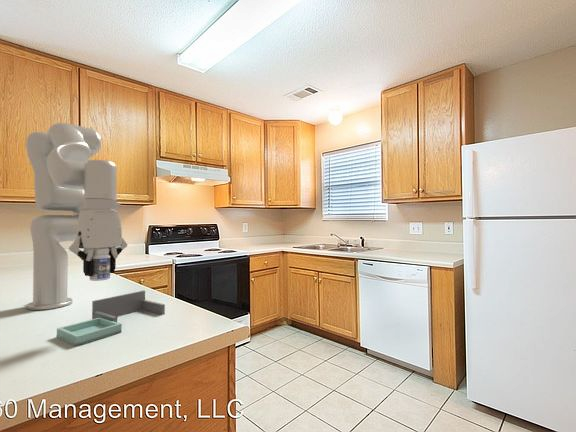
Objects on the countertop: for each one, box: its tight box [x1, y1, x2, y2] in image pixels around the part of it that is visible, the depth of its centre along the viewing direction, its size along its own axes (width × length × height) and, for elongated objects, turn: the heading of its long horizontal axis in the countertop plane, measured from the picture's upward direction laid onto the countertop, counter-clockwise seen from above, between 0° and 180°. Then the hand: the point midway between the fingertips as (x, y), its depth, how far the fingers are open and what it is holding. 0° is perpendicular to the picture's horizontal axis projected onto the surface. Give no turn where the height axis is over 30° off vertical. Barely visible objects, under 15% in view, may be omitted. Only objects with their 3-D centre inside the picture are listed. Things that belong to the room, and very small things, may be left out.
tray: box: [56, 317, 123, 347], centre depth 79 cm, size 11×11×2 cm
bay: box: [91, 290, 166, 323], centre depth 93 cm, size 12×16×6 cm
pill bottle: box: [89, 248, 111, 282], centre depth 82 cm, size 5×5×8 cm
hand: (99, 273), depth 82 cm, fingers closed on pill bottle, 4 cm apart
